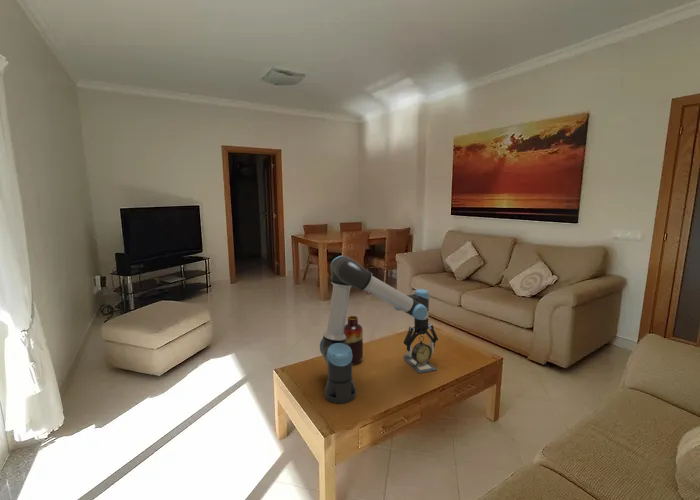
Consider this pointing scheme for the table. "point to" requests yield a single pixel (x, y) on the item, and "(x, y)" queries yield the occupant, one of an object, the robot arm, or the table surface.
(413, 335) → the robot arm
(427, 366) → the mat
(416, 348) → the alarm clock
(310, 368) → the table surface
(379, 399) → the table surface
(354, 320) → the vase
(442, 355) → the table surface
